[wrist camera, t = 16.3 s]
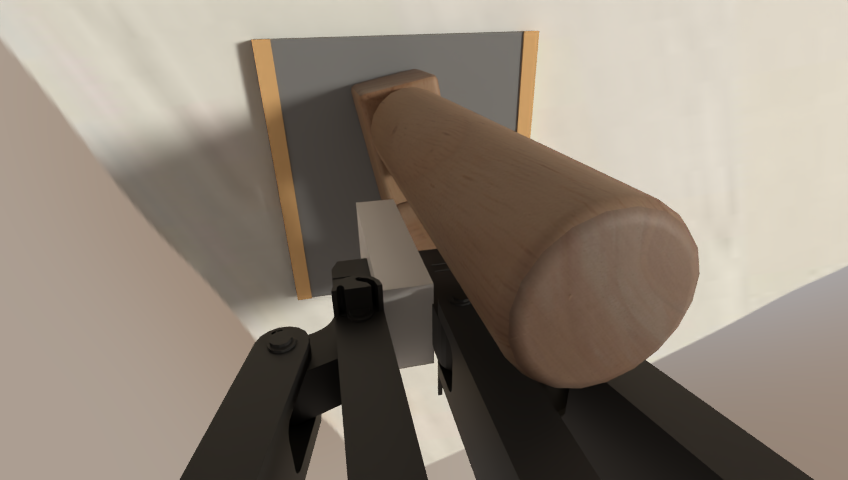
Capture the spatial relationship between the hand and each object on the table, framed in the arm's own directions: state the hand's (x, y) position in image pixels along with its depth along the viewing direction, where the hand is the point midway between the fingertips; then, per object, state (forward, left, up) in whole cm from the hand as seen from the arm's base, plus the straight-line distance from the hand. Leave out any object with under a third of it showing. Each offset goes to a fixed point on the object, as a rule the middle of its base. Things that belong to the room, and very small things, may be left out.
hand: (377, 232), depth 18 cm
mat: (0, +3, -7) cm, 8 cm away
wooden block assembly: (0, +3, -7) cm, 7 cm away
